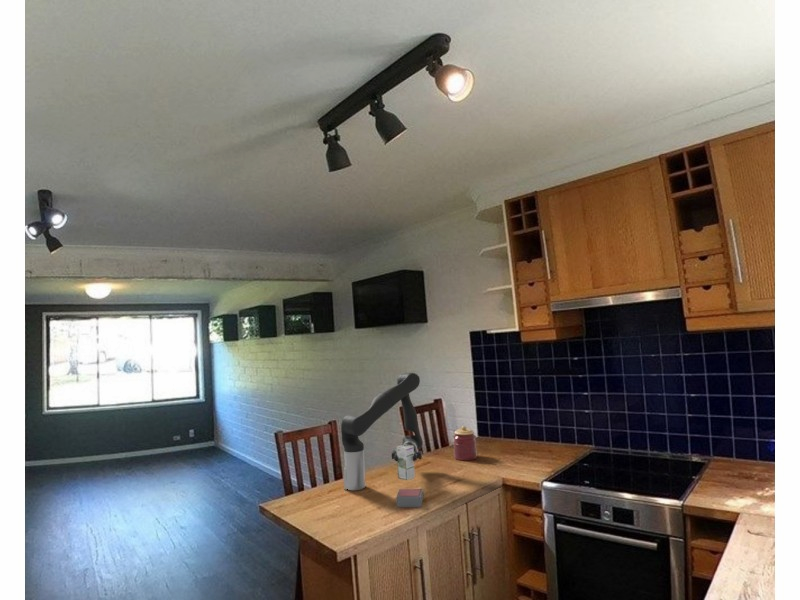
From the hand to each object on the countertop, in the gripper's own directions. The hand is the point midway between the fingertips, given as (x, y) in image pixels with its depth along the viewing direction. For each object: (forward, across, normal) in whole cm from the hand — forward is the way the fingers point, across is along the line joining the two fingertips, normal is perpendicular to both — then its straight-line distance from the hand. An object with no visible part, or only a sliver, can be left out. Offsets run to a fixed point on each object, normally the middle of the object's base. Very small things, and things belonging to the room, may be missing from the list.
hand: (405, 459), depth 207 cm
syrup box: (-2, 0, +9) cm, 10 cm away
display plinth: (+14, +3, +14) cm, 20 cm away
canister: (-55, +27, +14) cm, 63 cm away
